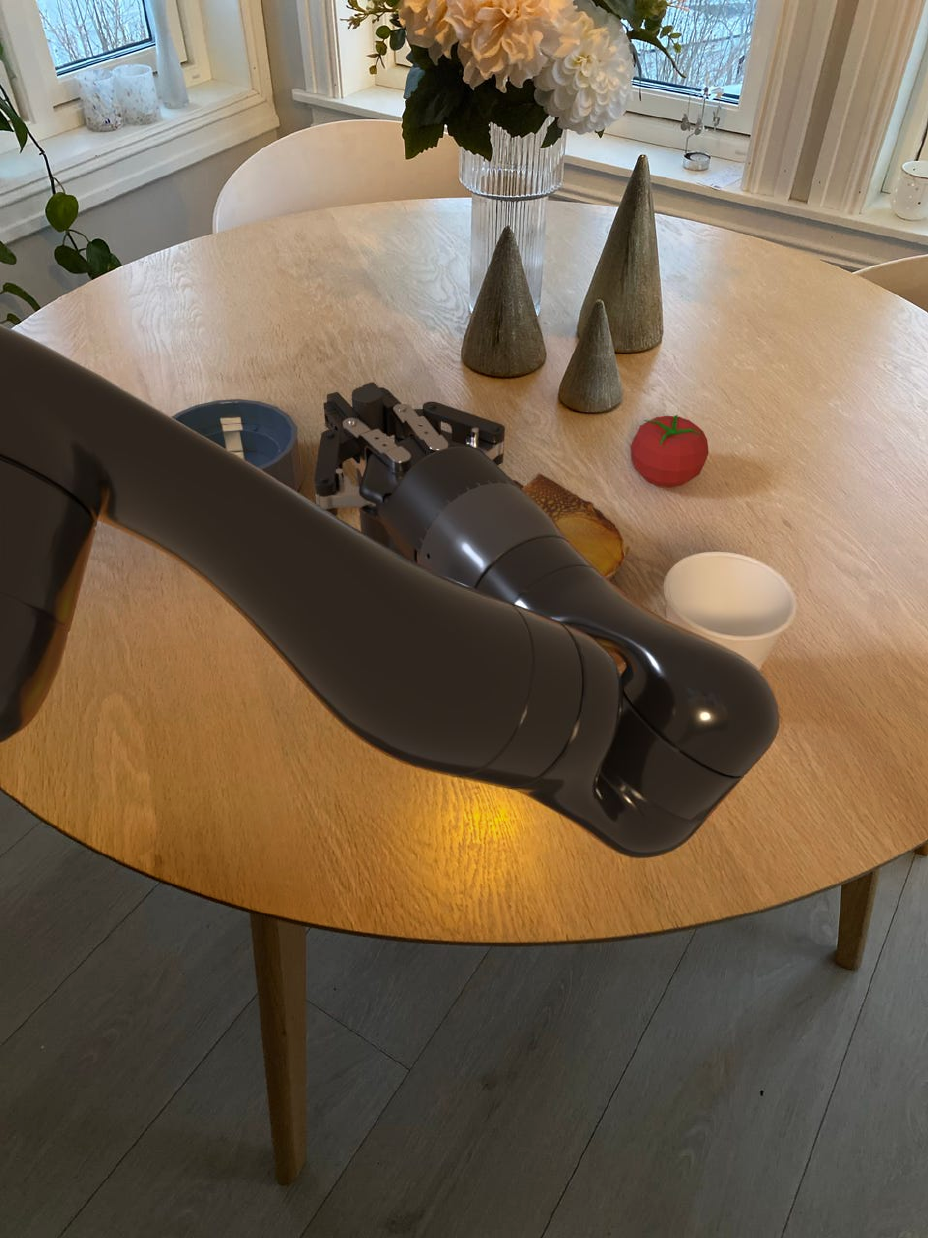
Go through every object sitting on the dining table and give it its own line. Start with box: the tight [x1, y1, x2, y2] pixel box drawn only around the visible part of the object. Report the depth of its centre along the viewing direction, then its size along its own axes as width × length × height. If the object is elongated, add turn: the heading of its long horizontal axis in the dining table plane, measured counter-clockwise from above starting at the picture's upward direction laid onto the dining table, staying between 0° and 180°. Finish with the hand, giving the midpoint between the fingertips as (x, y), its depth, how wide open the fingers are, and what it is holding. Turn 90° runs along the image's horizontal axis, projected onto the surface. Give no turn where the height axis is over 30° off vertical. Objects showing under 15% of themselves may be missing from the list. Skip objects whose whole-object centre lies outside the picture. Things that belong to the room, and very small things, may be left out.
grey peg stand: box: [351, 385, 405, 557], centre depth 67 cm, size 6×6×16 cm
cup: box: [663, 551, 798, 671], centre depth 76 cm, size 10×10×11 cm
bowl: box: [170, 398, 304, 492], centre depth 97 cm, size 14×14×6 cm
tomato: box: [630, 414, 710, 488], centre depth 99 cm, size 8×8×8 cm
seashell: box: [512, 473, 631, 581], centre depth 90 cm, size 17×8×15 cm
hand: (350, 400), depth 64 cm, fingers closed on grey peg stand
